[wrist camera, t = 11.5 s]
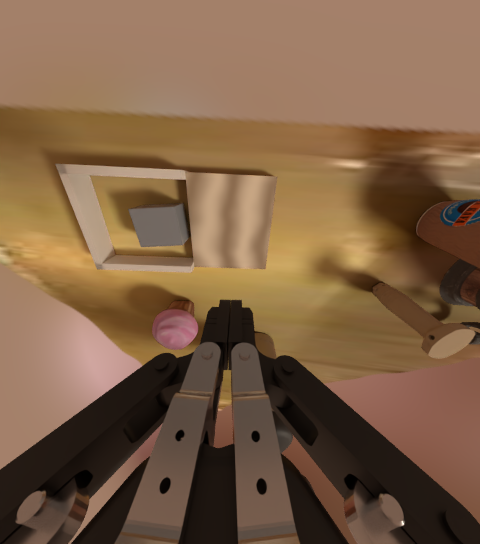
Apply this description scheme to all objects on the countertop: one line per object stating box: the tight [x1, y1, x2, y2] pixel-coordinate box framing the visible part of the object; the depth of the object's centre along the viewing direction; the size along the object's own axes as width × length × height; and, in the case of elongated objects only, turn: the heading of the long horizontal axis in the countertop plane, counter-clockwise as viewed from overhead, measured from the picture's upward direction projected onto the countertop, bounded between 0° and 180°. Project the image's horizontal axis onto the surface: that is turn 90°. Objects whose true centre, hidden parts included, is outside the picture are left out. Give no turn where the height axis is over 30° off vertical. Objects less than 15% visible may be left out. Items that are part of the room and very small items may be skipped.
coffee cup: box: [416, 200, 480, 268], centre depth 26 cm, size 10×10×12 cm
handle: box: [372, 283, 475, 358], centre depth 32 cm, size 5×6×15 cm
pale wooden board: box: [185, 172, 277, 269], centre depth 31 cm, size 14×16×2 cm
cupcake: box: [152, 301, 198, 350], centre depth 37 cm, size 9×9×10 cm
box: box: [55, 164, 194, 273], centre depth 30 cm, size 17×16×4 cm
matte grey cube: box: [128, 203, 190, 247], centre depth 29 cm, size 7×6×5 cm
